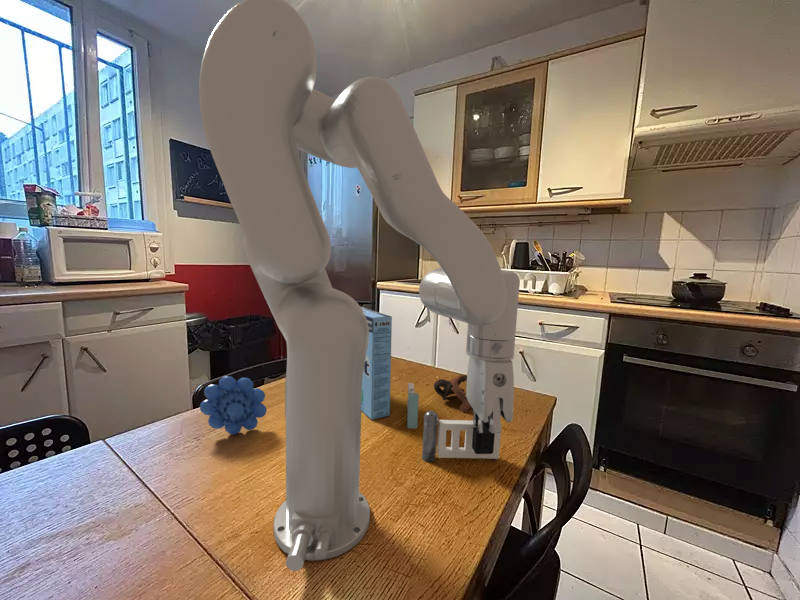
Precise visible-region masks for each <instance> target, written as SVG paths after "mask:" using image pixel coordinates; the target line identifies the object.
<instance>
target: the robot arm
mask: <svg viewBox="0 0 800 600" xmlns="http://www.w3.org/2000/svg"><path fill="white" fill-rule="evenodd" d="M317 59H318V58H317V53H316V47H315V44H314V40H313V37H312V35H311V32H310V30H309V28H308V25H307V24H306V23H305V21H304V19H303V17H302V16H301V14H300V13H299V12H298V11H297V10H296V9H295V8H294V7H293V6H292V5H291V4H289V3H288V2H287V1H285V0H241V1H240V2H238V3H236V4H234V6H232V7H231V8H230V9H229V10H228V11H227V12H226V13H225V14H224V15H223V17H222V18H221V19H220V20H219V22H217V24H216V26H215V27H214V29H213V31H212V32H211V35H210V36H209V38H208V41H207V43H206V46H205V50H204V51H203V57H202V60H201V65H200V73H199V79H198V80H199V85H198V95H199V96H198V99H199V100H198V101H199V109H200V111H199V112H200V117H201V122H202V127H203V130H204V134H205V138H206V141H207V145H208V147H209V151H210V154H211V156H212V159H213V161H214V163H215V167H216V168H217V171H218V174H219V176H220V178H221V181H222V183H223V186H224V189H225V192H226V194H227V196H228V199H229V201H230V204H231V206H232V207H233V211H234V213H235V214H236V218H237V220H238V222H239V224H240V227H241V230H242V232H243V233H242V234H243V241H242V244H243V251H244V255H245V256H246V258H247V262H248V264H249V267H250V268H251V270H252V272H253V275H254V277H255V279H256V282H257V284H258V286H259V289H260V291H261V292H262V293H261V294H262V295H263V297H264V299H265V302H266V304H267V305H268V308H269V309H270V312H271V314H272V316H273V318H274V320H275V323H276V325H277V327H278V329H279V330H280V333H281V334H282V336H283V338H284V340H285V342H286V354H287V355H286V356H287V357H286V372H285V390H284V391H285V392H284V393H285V394H284V395H285V398H284V404H285V405H284V407H285V408H284V410H285V411H284V412H285V413H284V415H285V416H284V417H285V500H284V501H283V502H282V503H281V505H280V506H279V507H278V508H277V511H276V513H275V515H274V519H273V536H274V540H275V542H276V543H277V546H278V547H279V548H280V549H281V550H282V551H283V552H284V553H286V554H287V557H286V560H285V565H286V567H287V569H289V570H290V571H293V572H298V571H300V570H301V569H303V567H304V564H305V560H306V561H323V560H329V559H332V558H335V557H338V556H341V555H343V554H344V553H346V552H348V551H350V550H351V549H352V548H355V546H356V545H358V543H359V542H360V541H361V540H362V539H363V538H364V536H365V535H366V533H367V532H368V529H369V526H370V520H371V519H370V518H371V508H370V504H369V502H368V500H367V499H366V497H365V495H364V494H363V493H361V492H360V476H361V475H360V473H361V472H360V470H361V469H360V468H361V463H360V462H361V435H362V433H361V432H362V430H361V429H362V410H361V395H362V379H363V370H364V364H365V359H366V354H367V349H368V341H369V329H368V323H367V319H366V316H365V314H364V312H363V310H362V309H361V307H362V306H361V307H360V305H359V303H358V302H357V301H356V300H355V299H354V298H353V297H352V296H350V295H349V294H347V293H345V292H343V291H341V290H339V289H336V288H334V287H333V286H332V283H331V281H330V278H329V276H328V272H327V270H326V267H327V265H328V263H329V261H330V259H331V252H332V245H331V239H330V236H329V233H328V229H327V227H326V225H325V222H324V220H323V218H322V216H321V213H320V210H319V208H318V206H317V203H316V200H315V197H314V195H313V192H312V189H311V186H310V185H309V182H308V178H307V177H306V174H305V171H304V168H303V164H302V161H301V158H300V155H299V152H298V150H300V151H302V152H304V153H306V154H308V155H311V156H313V157H316V158H318V159H320V160H323V161H325V162H327V163H330V164H334V165H337V166H340V167H343V168H349V169H354V168H355V169H356V168H357V170H358V171H359V174H360V175H361V177H362V180H364V183H365V184H366V187H367V188H368V191H369V192H370V194H371V196H372V198H373V201H374V202H375V204H376V207H377V209H378V210H379V212H380V214H381V216H382V217H383V219H384V221H385V222H386V223H387V224H388V225H389V226H391V227H392V229H394V230H396V232H398V233H400V234H402V235H403V236H405V237H407V238H409V239H410V240H412V241H414V242H415V243H416V244H417V245H419V246H420V247H421V248H423V249H424V250H425V251H426V252H428V253H429V254H430V255H431V257H432V258H433V259H434V260H435V261H436V262H437V264H438V265H439V266H440V267H438V268H434V269H433V270H430V271H429V272H428V273H426V274H424V276H423V278H422V279H421V281H420V283H419V287H418V295H419V299H420V301H421V303H422V304H423V306H424V307H425V308H426V309H427V310H429V311H430V312H431V313H434V314H436V315H439V316H442V317H445V318H449V319H452V320H453V319H454V320H457V321H459V322H463V323H465V324H467V332H466V345H465V347H466V348H465V349H466V350H465V354H466V355H467V356H469V357H468V365H467V366H468V367H467V371H466V372H467V374H466V375H467V380H466V386H465V387H466V389H465V390H466V391H465V393H466V395H465V397H466V398H467V400H468V402H469V403H470V405H471V406H472V408H471V409H472V421H473V425H474V426H476V427H473V438H472V448H473V450H474V452H475V454H492V453H493V449H494V437H495V433H501V434H502V427H501V425H502V423H501V422H502V421H501V418H503V420H504V421H505V422H507V423H511V422H512V420H513V418H514V417H513V416H514V415H513V414H514V401H515V400H514V393H515V381H514V380H515V378H514V376H515V375H514V366H513V360H514V358H515V357H514V355H515V346H516V345H515V344H516V343H515V342H516V331H517V320H518V319H517V318H518V310H519V309H518V308H519V305H518V304H519V297H520V295H519V294H520V281H521V280H520V276H519V275H518V273H516V272H514V271H512V270H504V269H502V268H501V266H500V264H499V261H498V259H497V256H496V254H495V252H494V249H493V246H492V245H491V243H490V241H489V240H488V238H487V237H486V235H485V234H484V233H483V231H482V230H481V229H480V228H479V227H478V225H477V224H476V223H475V222H474V221H473V220H472V219H471V218H470V217H469V216H468V215H467V214H466V213H465V212H464V211H463V210H462V209H461V208H460V207H459V206H458V205H457V204H456V203H455V202H454V201H452V200H451V199H450V198H449V197H448V196H447V195H446V194H445V193H444V191H443V189H442V188H441V186H440V184H439V183H438V180H437V178H436V176H435V172H434V171H433V168H432V166H431V163H430V160H429V159H428V156H427V154H426V152H425V150H424V148H423V146H422V143H421V141H420V139H419V136H418V134H417V132H416V129H415V127H414V126H413V123H412V121H411V118H410V116H409V114H408V112H407V108H405V105H404V103H403V101H402V99H401V97H400V94H399V93H398V91H397V90H396V88H395V87H394V86H393V85H392V84H391V83H390V82H388V80H386V79H384V78H382V77H378V76H366V77H361V78H359V79H357V80H355V81H354V82H352V83H351V84H349V85H348V86H347V87H346V88H345V89H343V91H342V92H341V93H340V94H339V96H338V97H337V98H333V97H331V96H329V95H328V94H325V93H322V91H319V90H317V89H315V88H314V87H315V83H316V79H317V73H318V72H317V71H318V60H317Z"/></svg>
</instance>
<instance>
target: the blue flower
mask: <svg viewBox="0 0 800 600" xmlns="http://www.w3.org/2000/svg"><path fill="white" fill-rule="evenodd" d="M203 393H204V397H205V398H207V399H205V400H203V401H202V402H200V405H199V410H200V412H201V413H202V414H203V415H205V416H209V417H208V420H207V422H208V425H209V426H210V427H211V428H213V429H214V430H218V429H222V428H224V429H225V432H227V434H230V435H236V434H239V433H240V432H241V431H242V428H244V429H245V430H247V431H251V430H254V429H255V428H257V425H258V418H262V417H264V416H265V415H266V414H267V410H268V409H267V406H266V405H265V404H264V403H262V402H263V401H265V398H266V393H265V392H264V391H263V390H262V389H261V388H258V387H256V388H255V387H254V382H253V381H252V380H251V379H250V377H249V378H248V377H241V378H239V379H238V380H236V379H235V378H233V376H229V375H224V376H222V377H221V378H219V381H218V384H209V385H207V386H205V388H204V391H203Z"/></svg>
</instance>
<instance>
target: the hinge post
mask: <svg viewBox="0 0 800 600" xmlns="http://www.w3.org/2000/svg"><path fill="white" fill-rule="evenodd" d="M438 424H439V415H438V413H437V412H435V410H427V411H426V412H425V413H424V414H423V431H422V433H423V434H422V436H423V437H422V450H421V451H422V454H421V456H422V457H421V459H422V461H424V462H427V463H433V462H435V461H436V456H437V455H436V454H437V441H438Z"/></svg>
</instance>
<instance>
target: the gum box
mask: <svg viewBox="0 0 800 600" xmlns="http://www.w3.org/2000/svg"><path fill="white" fill-rule="evenodd" d="M359 306H360V305H359ZM360 307H361V309H362V310H363V312H364V314H365V316H366V319H367V323H368V329H369V341H368V349H367V354H366V359H365V364H364V370H363V379H362V395H361V412H363V413H364V414H365V415H366V416H367V417H368V418H369V419H370V420H372V421H373V420H377V419H381V418H384V417H389V416H390V414H391V412H390V411H391V379H392V378H391V376H392V375H391V372H392V371H391V370H392V332H393V331H392V326H393V323H392V322H393V317H392V316H391V315H388V314H385V313H381V312H379V311H375V310H373V309H369V308H366V307H363V306H360Z"/></svg>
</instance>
